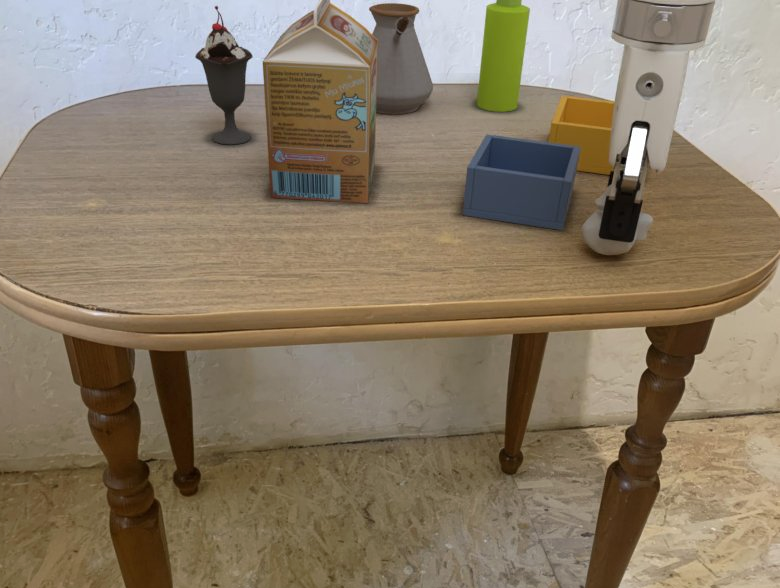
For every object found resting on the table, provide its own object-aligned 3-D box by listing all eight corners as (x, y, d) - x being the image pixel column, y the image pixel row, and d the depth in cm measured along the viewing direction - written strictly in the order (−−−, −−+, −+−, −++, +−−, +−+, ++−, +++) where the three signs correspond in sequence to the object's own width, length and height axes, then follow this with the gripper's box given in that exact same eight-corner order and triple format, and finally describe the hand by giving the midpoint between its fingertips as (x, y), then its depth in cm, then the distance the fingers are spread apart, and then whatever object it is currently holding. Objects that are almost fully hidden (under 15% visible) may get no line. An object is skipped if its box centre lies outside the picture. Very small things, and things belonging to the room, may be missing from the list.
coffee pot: (351, 93, 115) (351, -20, 106) (427, 94, 116) (434, -17, 107) (354, 143, 98) (355, 15, 89) (444, 144, 99) (454, 17, 90)
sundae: (230, 125, 102) (219, 0, 93) (268, 137, 99) (260, 9, 90) (193, 138, 97) (177, 8, 88) (231, 151, 94) (219, 18, 85)
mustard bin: (644, 147, 101) (654, 106, 97) (641, 179, 92) (652, 135, 89) (555, 135, 103) (561, 95, 100) (544, 166, 94) (551, 122, 91)
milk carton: (286, 162, 92) (278, -15, 81) (374, 166, 92) (378, -10, 80) (270, 197, 84) (259, 6, 72) (367, 203, 84) (371, 11, 72)
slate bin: (572, 192, 88) (581, 146, 85) (562, 230, 80) (571, 181, 77) (481, 179, 90) (486, 134, 87) (462, 215, 82) (467, 166, 79)
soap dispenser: (529, 110, 111) (552, -47, 99) (483, 112, 110) (500, -48, 98) (515, 98, 116) (535, -54, 104) (471, 100, 114) (486, -55, 102)
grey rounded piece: (572, 239, 78) (586, 161, 73) (636, 238, 78) (654, 161, 73) (586, 264, 74) (601, 184, 69) (653, 263, 74) (674, 183, 69)
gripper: (713, 50, 56) (656, 272, 67) (705, 4, 69) (658, 196, 80) (608, 41, 57) (569, 259, 68) (619, -2, 71) (585, 187, 82)
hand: (617, 223), depth 74 cm, fingers closed on grey rounded piece, 5 cm apart
